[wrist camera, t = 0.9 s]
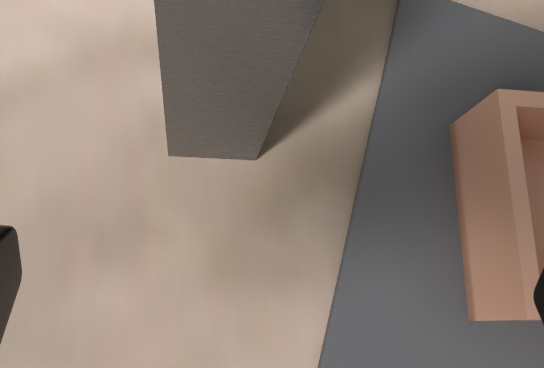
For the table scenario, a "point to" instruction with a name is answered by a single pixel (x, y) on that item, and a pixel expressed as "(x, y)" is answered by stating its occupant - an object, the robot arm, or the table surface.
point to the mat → (426, 200)
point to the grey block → (227, 70)
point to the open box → (501, 203)
